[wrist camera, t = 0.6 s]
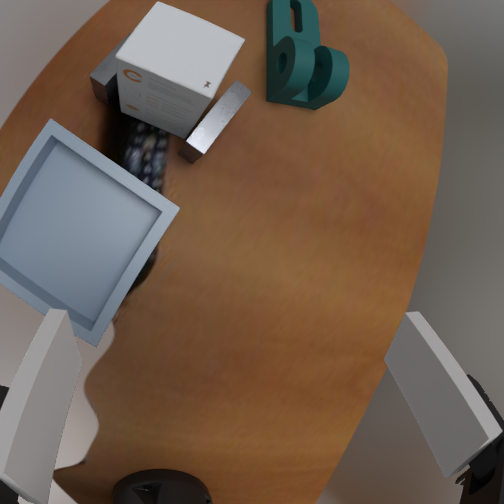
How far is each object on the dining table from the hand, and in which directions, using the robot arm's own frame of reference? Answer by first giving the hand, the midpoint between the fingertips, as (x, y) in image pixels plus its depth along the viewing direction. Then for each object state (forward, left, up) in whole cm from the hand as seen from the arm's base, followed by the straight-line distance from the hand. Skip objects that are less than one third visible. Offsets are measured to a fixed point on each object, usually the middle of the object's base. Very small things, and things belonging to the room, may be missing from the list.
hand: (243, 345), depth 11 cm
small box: (+14, +11, -24) cm, 30 cm away
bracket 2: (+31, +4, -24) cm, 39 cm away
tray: (-3, +11, -24) cm, 26 cm away
